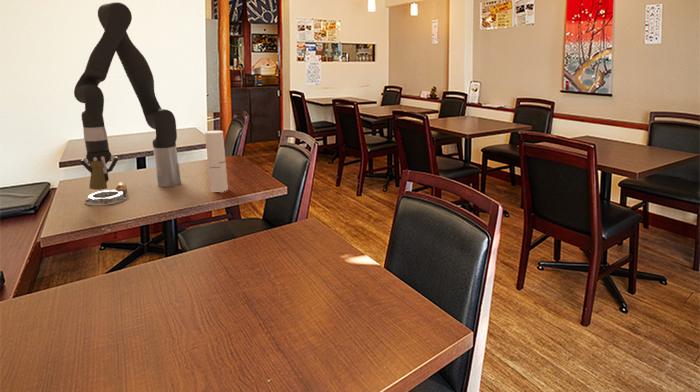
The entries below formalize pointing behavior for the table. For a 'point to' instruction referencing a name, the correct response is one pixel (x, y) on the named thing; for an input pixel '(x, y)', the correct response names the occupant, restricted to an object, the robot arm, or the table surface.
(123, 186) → the pipe stub
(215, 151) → the beige rectangular tower
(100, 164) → the cork
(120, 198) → the flange seat
